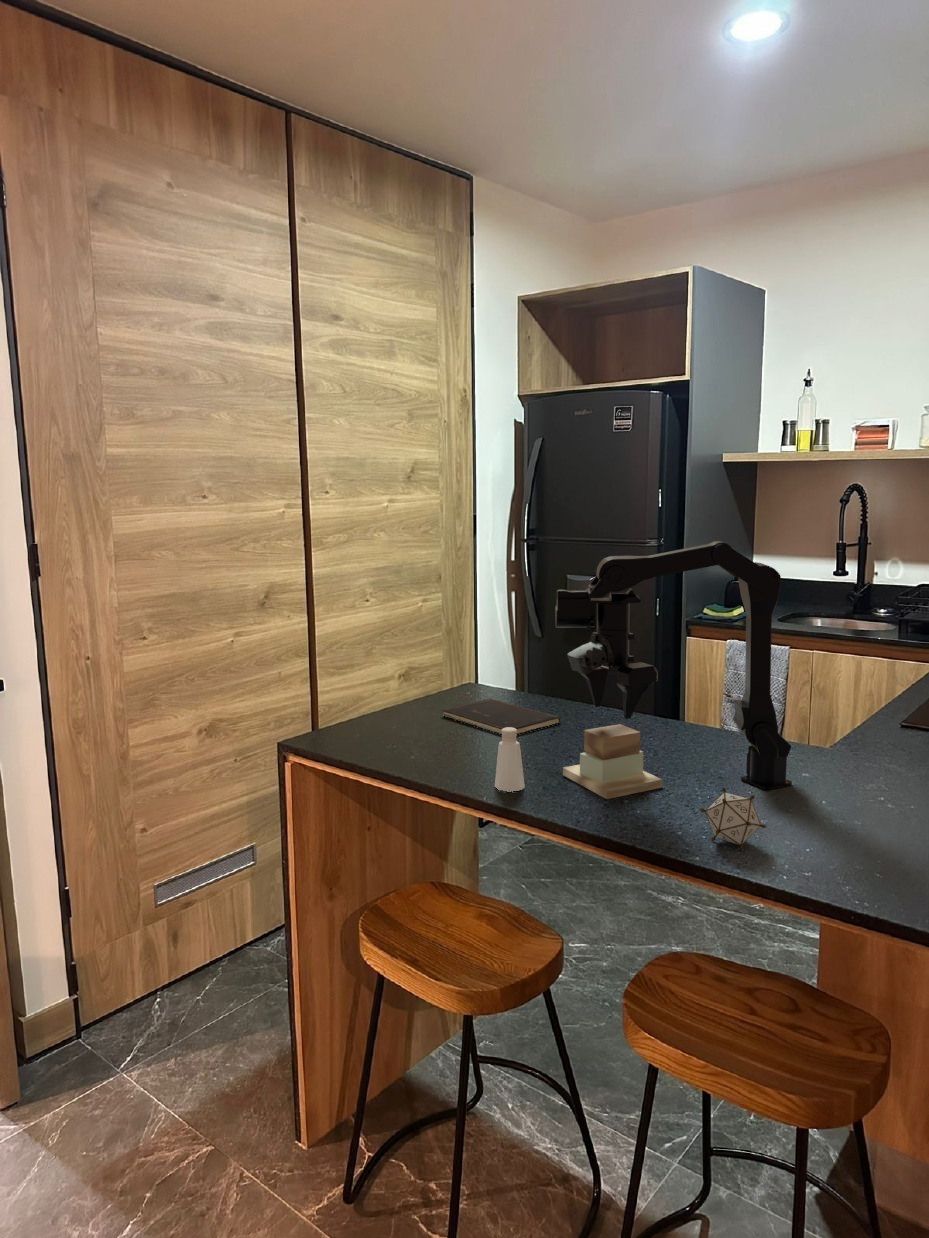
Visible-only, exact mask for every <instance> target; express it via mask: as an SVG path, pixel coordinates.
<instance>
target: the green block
mask: <svg viewBox="0 0 929 1238" xmlns="http://www.w3.org/2000/svg"><path fill="white" fill-rule="evenodd" d="M579 764H580V775H582V776H585V777H587V778H590V779H592V780H595V781H597V782H600V783H602V784H603V783H607V782H610V781H614V780H618V779H621V778H625V777H628V776H632V775H636V774H639V773H643V771H644V751H643V750H640V754H634V755H629V756H624V757H618V758H613V759H608V760H602V759H600V758H597V757H595V756H593V755H591V754H589V753H587V752H585V751H584V752H580V753H579Z"/></svg>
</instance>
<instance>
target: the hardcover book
mask: <svg viewBox="0 0 929 1238" xmlns="http://www.w3.org/2000/svg"><path fill="white" fill-rule="evenodd" d="M441 712H443V715H444V714H446V715H450V716H452V717H454V718H456V719H461V720H463V721H466V722H470V723H473V724H476V725H478V726H483V727H485V728H488V729H492V730H494V731H497V732H501V730H502V729H503V728H506V727H512V728H515V729H517V733H520V732H525V731H528V730H531V729H536V728H539V727H543V726H548V727H550V726H549V725H552V724H555V723H560V724H561V719H560V717H559V716H557V715H553V714H549V713H545V712H542V711H538V710H534V709H531V708H527V707H523V706H520V705H516V704H513V703H509V702H505V701H502V700H497V699H494V698H486V699H481V700H477V701H473V702H468V703H463V704H460V705H456V706H451V707H446V708H443V709H441ZM552 726H553V725H552ZM501 733H502V732H501Z"/></svg>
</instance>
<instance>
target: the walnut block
mask: <svg viewBox="0 0 929 1238" xmlns="http://www.w3.org/2000/svg"><path fill="white" fill-rule="evenodd" d="M583 733H584V735H583V736H584V737H583V738H584V739H583V741H584V742H583V745H584V748H583V750H584V752H587V753H589V754H591V755H593V756H595V757H597V758H600V759H602V760H608V759H613V758H618V757H624V756H629V755H634V754H640V751H641V732H640V731H638V730H636V729H634V728H632V727H631V728H630V727H629V726H626V725H623V724H621V723H619V724H613V725H607V726H600V727H595V728H588V729H585V730H583Z"/></svg>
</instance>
